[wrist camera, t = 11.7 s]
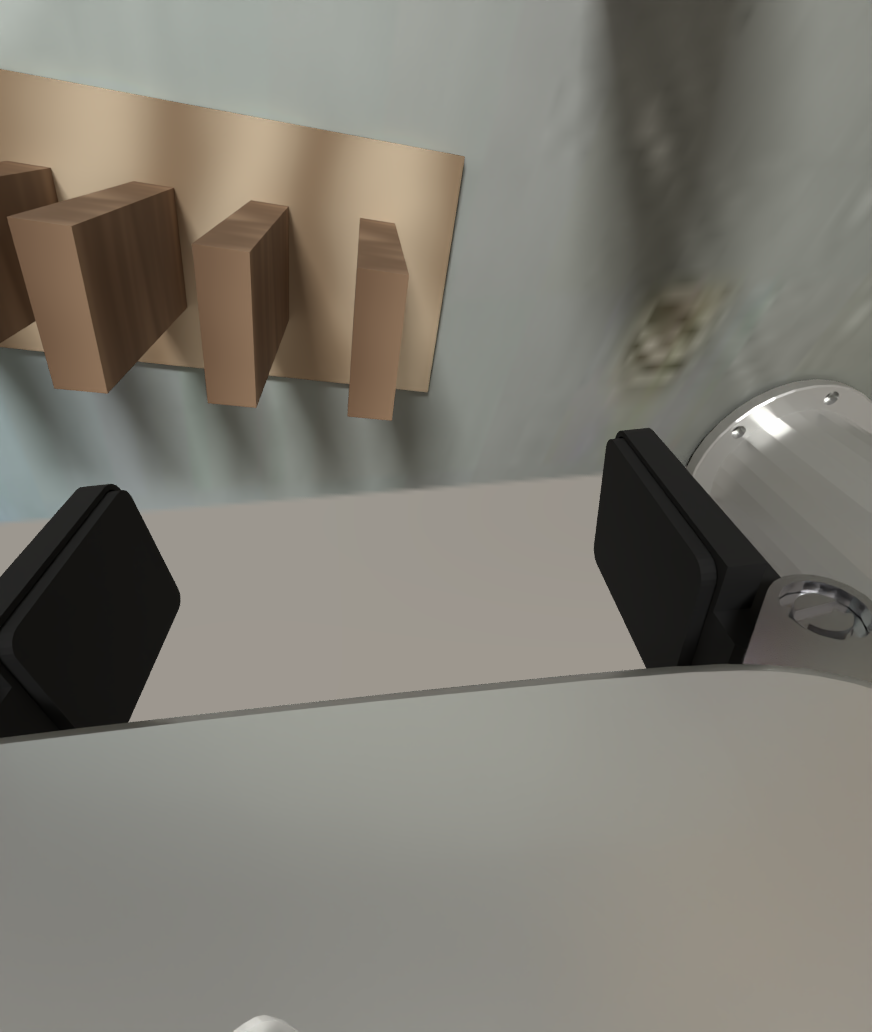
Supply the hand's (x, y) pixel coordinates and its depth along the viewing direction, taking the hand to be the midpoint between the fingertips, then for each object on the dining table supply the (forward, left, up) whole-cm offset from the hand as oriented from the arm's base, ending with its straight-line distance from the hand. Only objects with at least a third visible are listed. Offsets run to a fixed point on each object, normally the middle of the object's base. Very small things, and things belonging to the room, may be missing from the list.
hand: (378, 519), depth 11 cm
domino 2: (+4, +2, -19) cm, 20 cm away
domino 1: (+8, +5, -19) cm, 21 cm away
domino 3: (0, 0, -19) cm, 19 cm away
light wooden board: (+8, +5, -20) cm, 22 cm away
